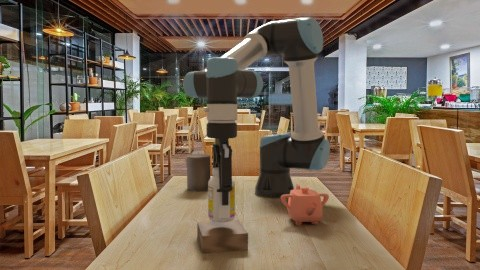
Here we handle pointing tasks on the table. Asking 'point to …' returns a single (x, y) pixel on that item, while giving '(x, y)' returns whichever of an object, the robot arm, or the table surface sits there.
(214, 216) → the supplement bottle
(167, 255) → the table surface
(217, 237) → the block
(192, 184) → the pillar candle
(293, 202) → the teapot
